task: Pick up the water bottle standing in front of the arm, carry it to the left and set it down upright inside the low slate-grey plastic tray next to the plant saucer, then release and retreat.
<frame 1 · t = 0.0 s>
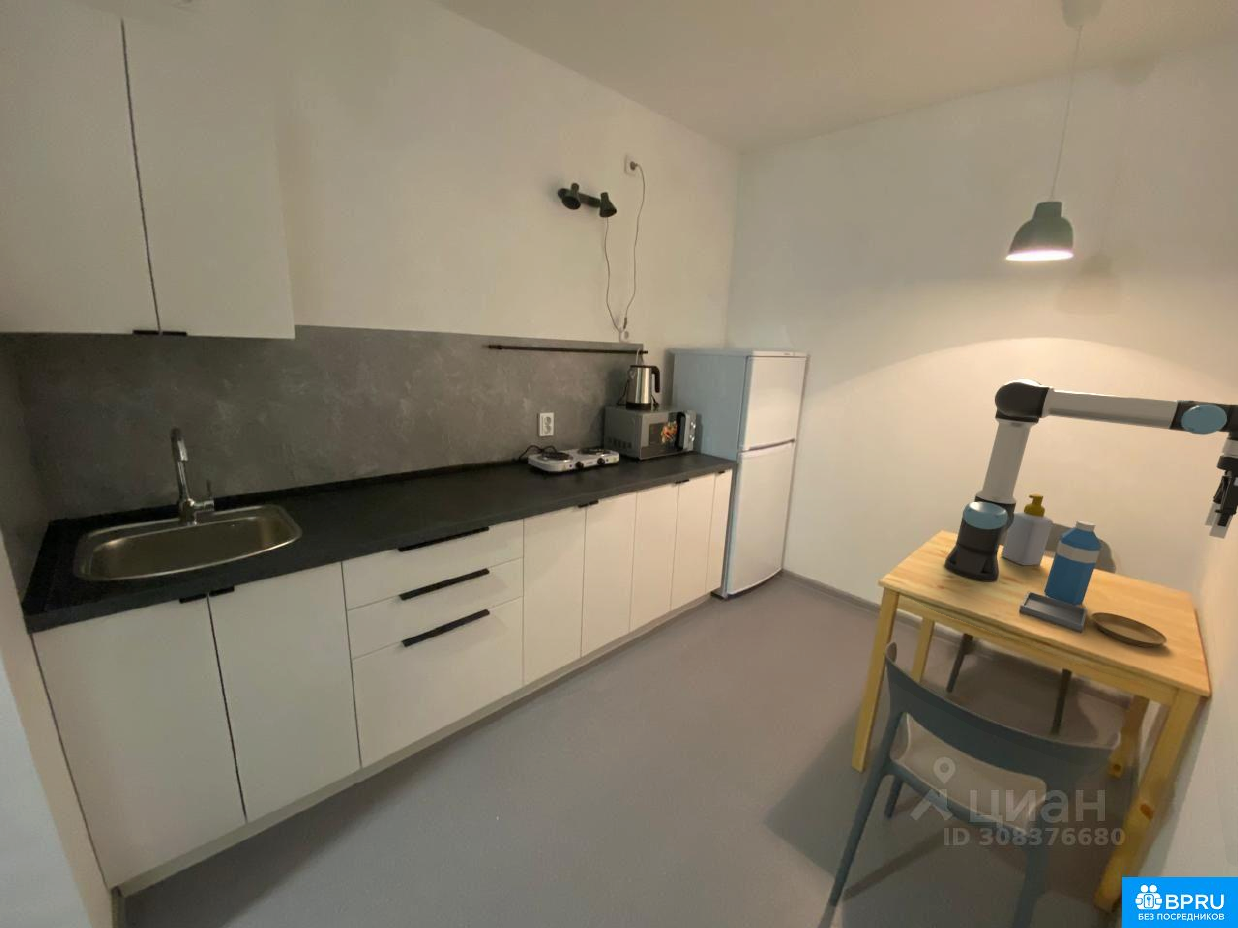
hand: (1213, 531, 138), 28 cm above the table, fingers open, 13 cm apart
tray: (1051, 613, 144), on the table
water bottle: (1062, 598, 154), on the table
soap bottle: (1020, 561, 181), on the table
plant saucer: (1124, 635, 136), on the table
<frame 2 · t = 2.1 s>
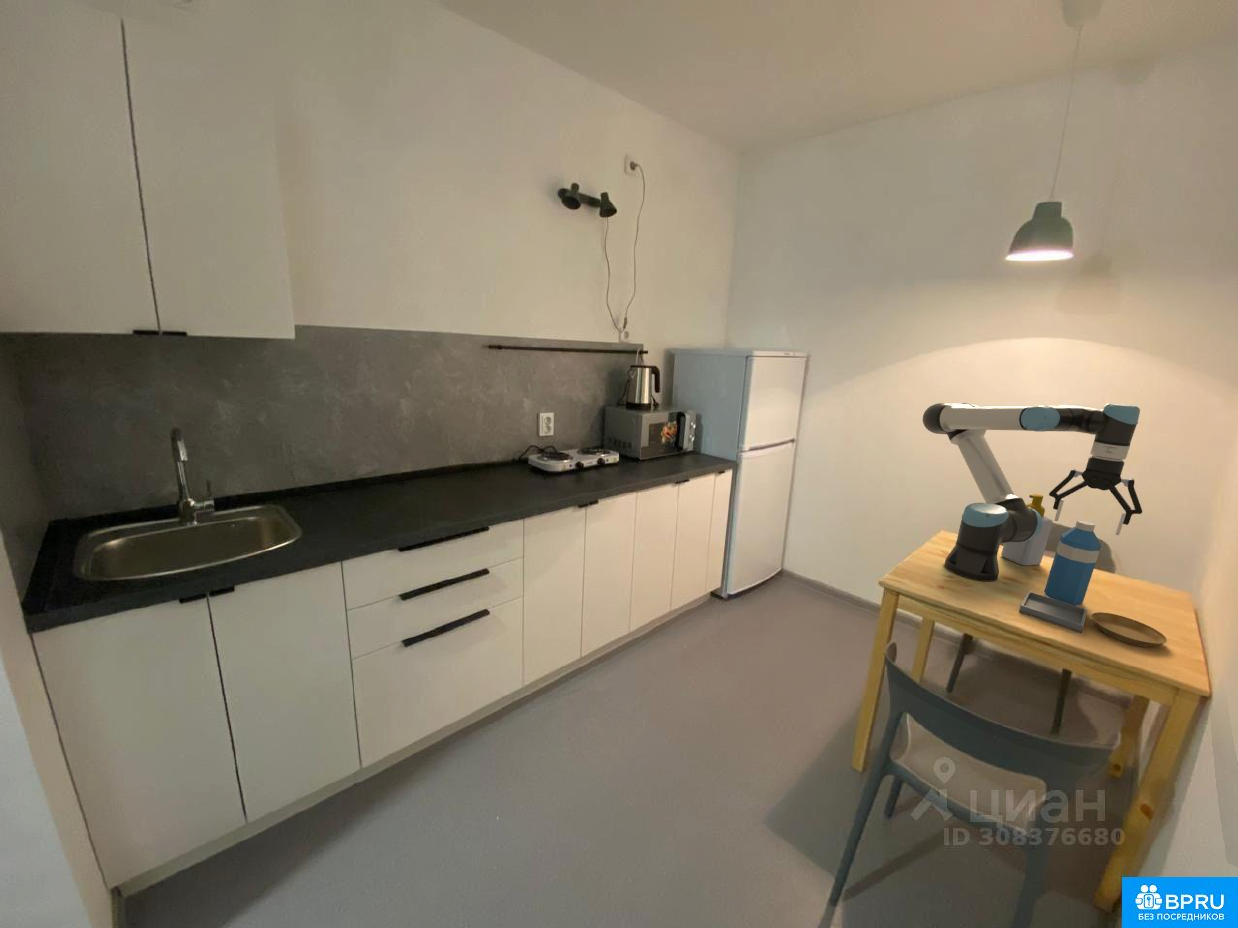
hand: (1085, 526, 148), 24 cm above the table, fingers open, 13 cm apart
nothing on the table moved.
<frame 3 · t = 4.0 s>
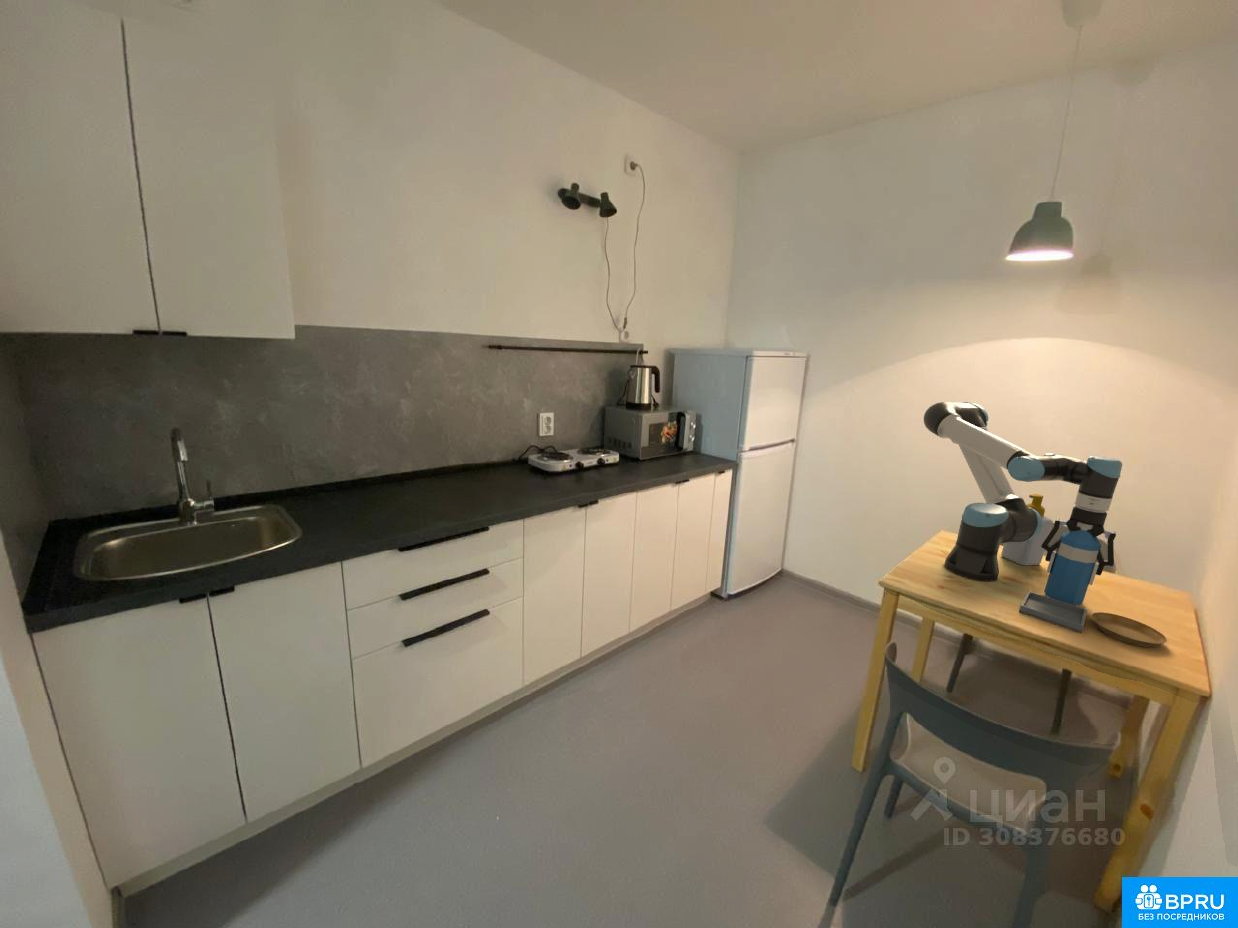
hand: (1069, 577, 153), 7 cm above the table, fingers closed on water bottle, 9 cm apart
water bottle: (1062, 598, 154), on the table, touching gripper
everything else where it was.
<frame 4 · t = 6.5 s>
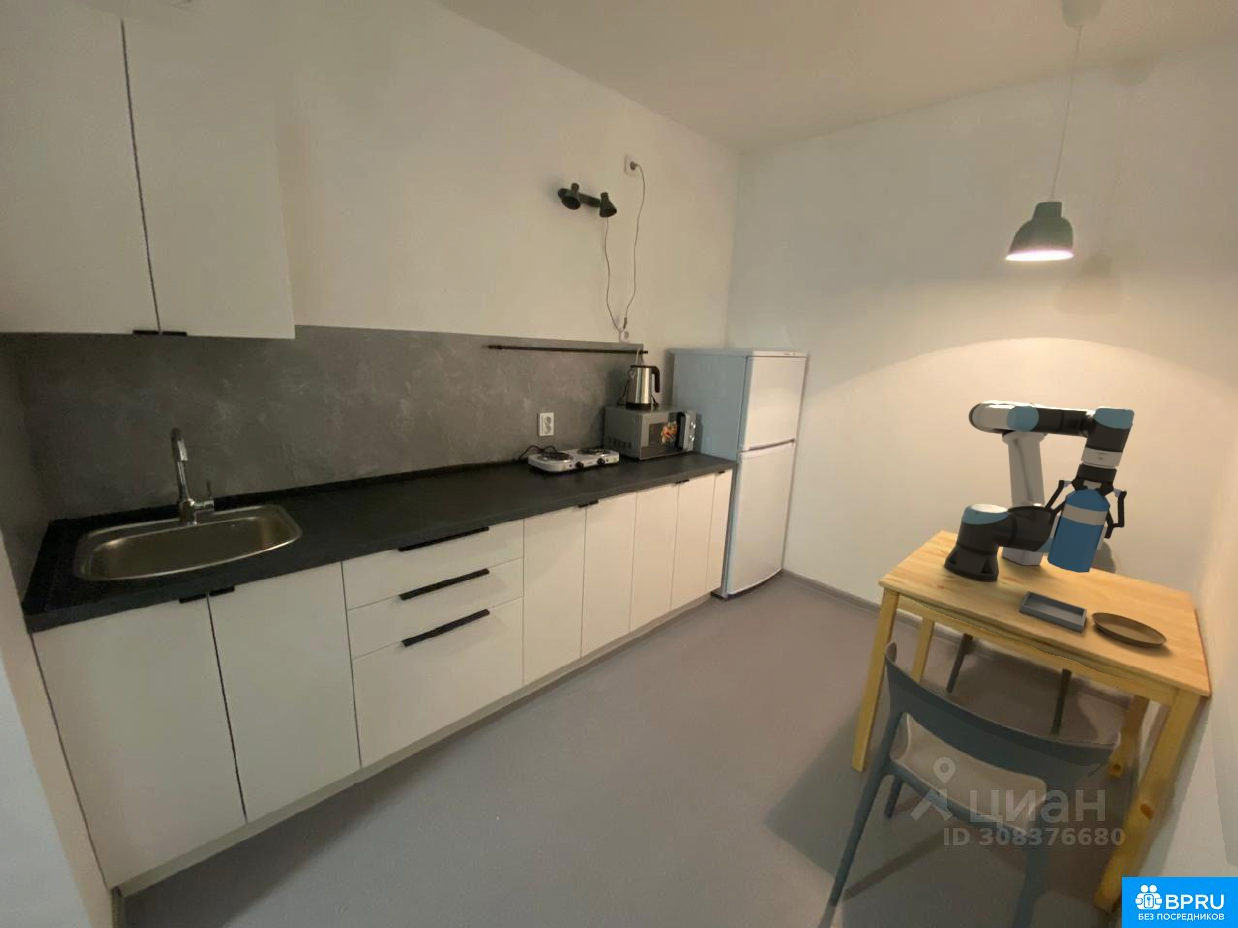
hand: (1074, 542, 139), 22 cm above the table, fingers closed on water bottle, 9 cm apart
water bottle: (1067, 566, 140), point 15 cm above the table, touching gripper
everything else where it was.
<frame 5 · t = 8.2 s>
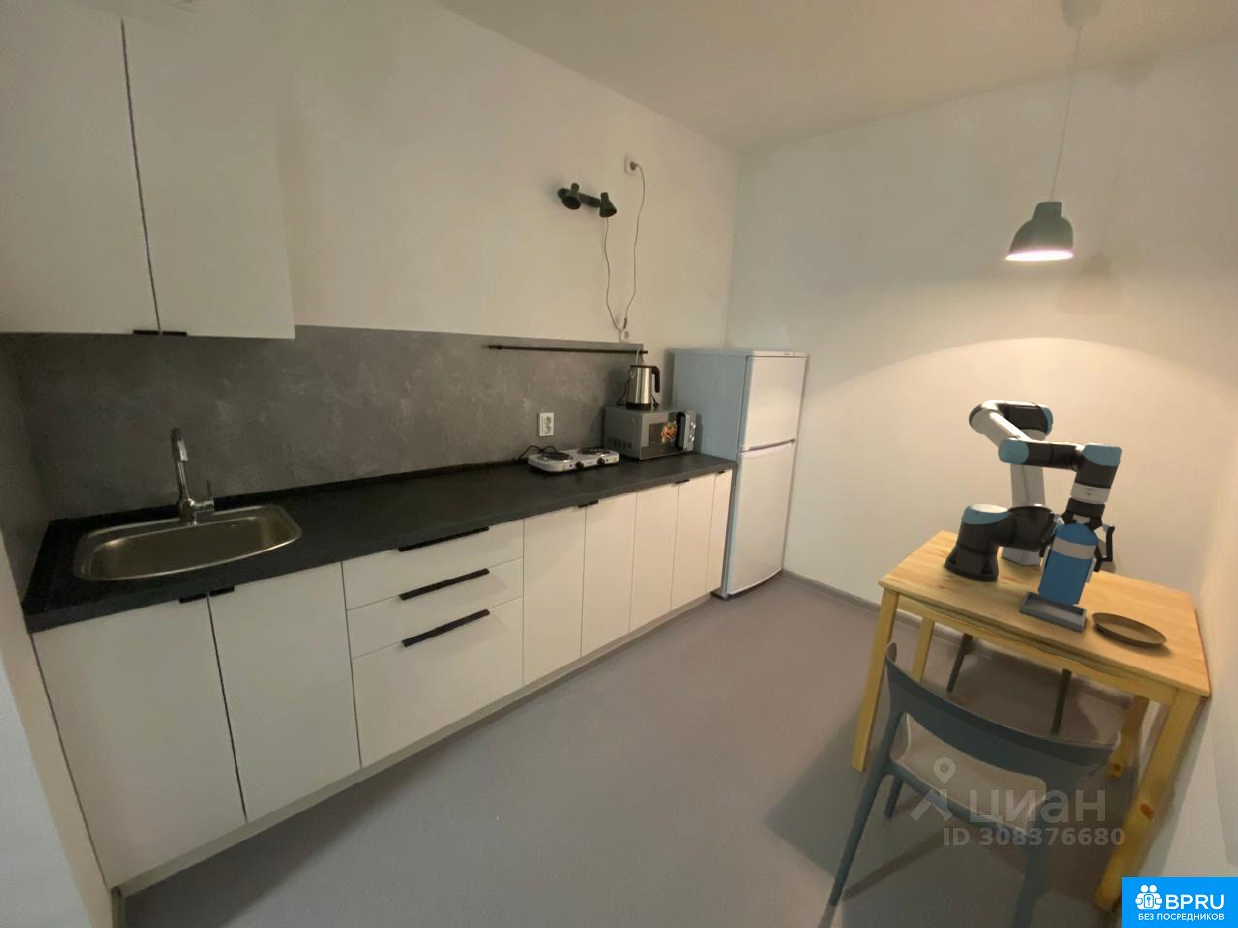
hand: (1064, 574, 141), 13 cm above the table, fingers closed on water bottle, 9 cm apart
water bottle: (1057, 597, 143), point 5 cm above the table, touching gripper
everything else where it was.
when the fingers open (9 cm above the table, at t = 9.4 s): water bottle drops 2 cm, resting on tray.
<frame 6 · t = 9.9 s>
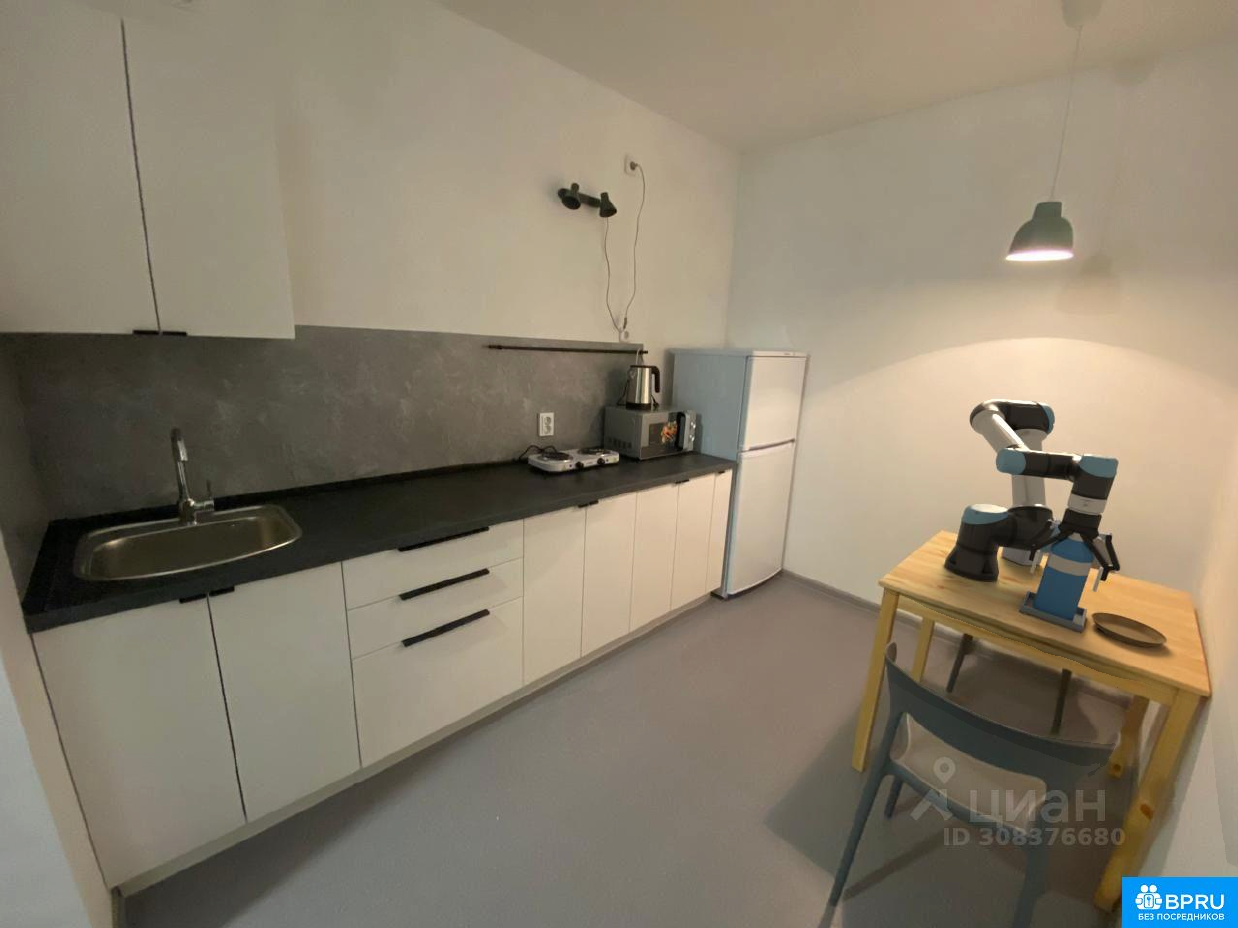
hand: (1062, 580, 141), 11 cm above the table, fingers open, 13 cm apart
water bottle: (1052, 612, 144), resting on tray
everything else where it was.
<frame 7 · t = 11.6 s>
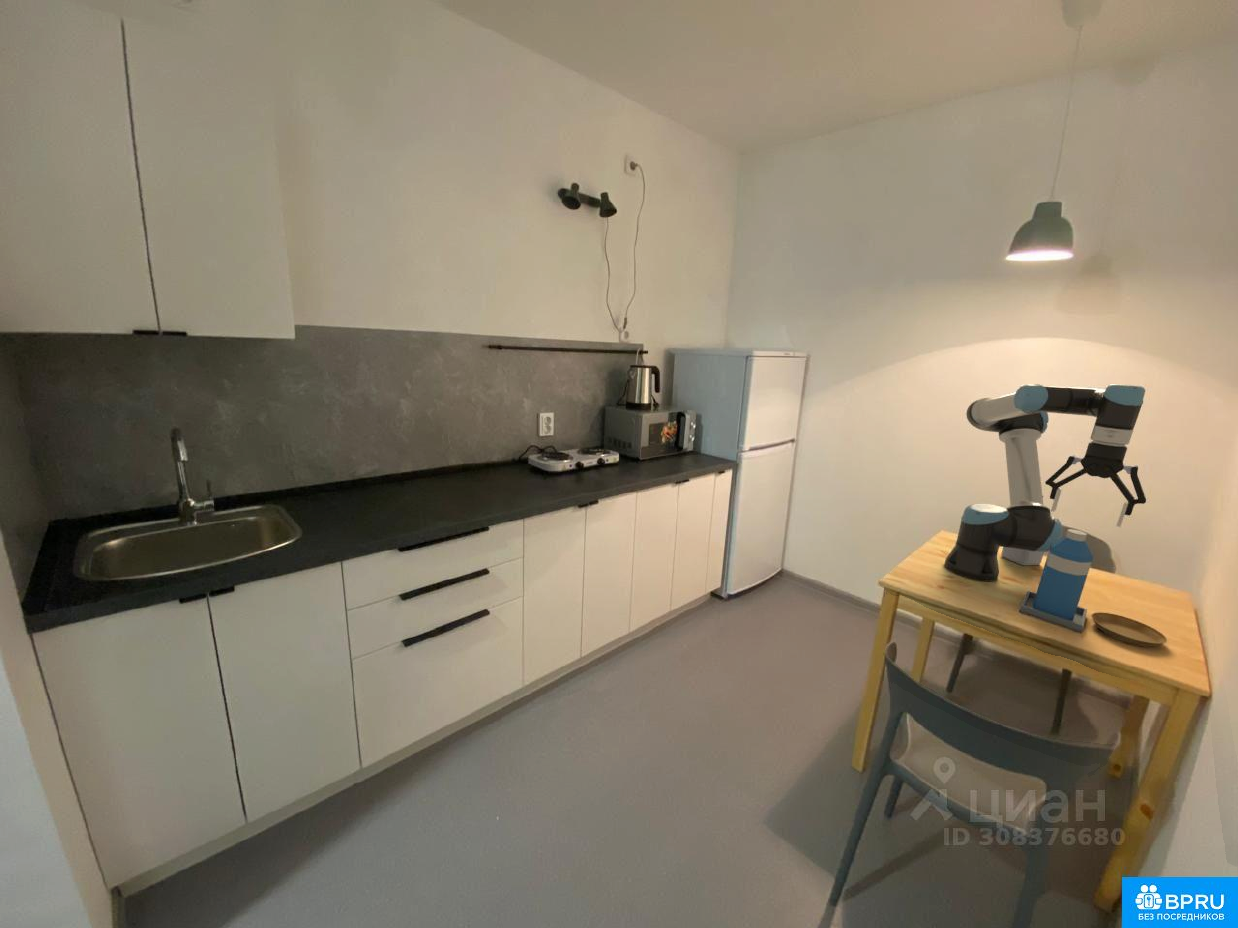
hand: (1084, 517, 137), 30 cm above the table, fingers open, 13 cm apart
nothing on the table moved.
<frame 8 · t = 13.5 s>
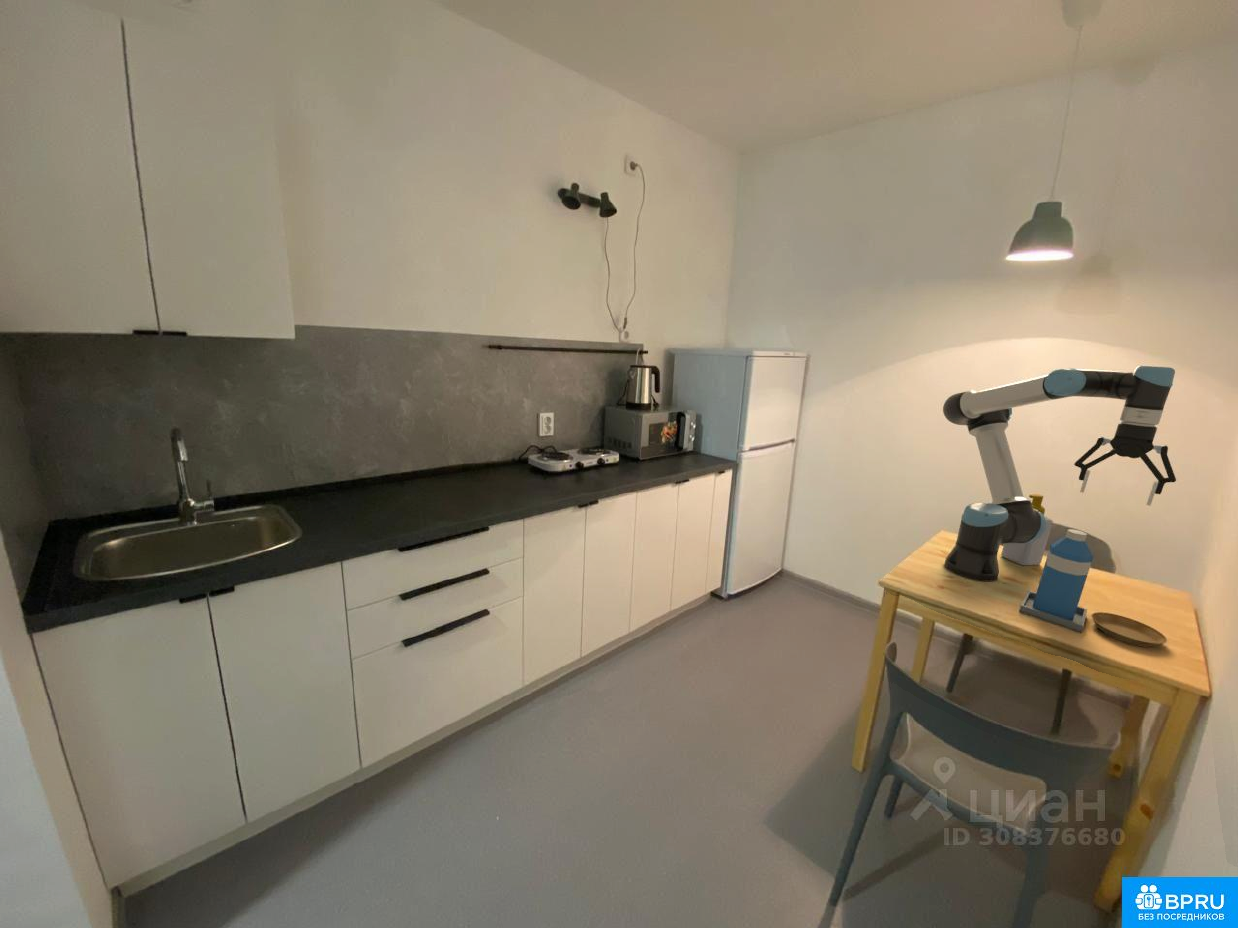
hand: (1114, 497, 140), 35 cm above the table, fingers open, 13 cm apart
nothing on the table moved.
at the end: water bottle inside the target area on the tray (0.0 cm from its centre), point 0.4 cm above the tray's base; water bottle tilted 0°; the gripper is holding nothing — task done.
